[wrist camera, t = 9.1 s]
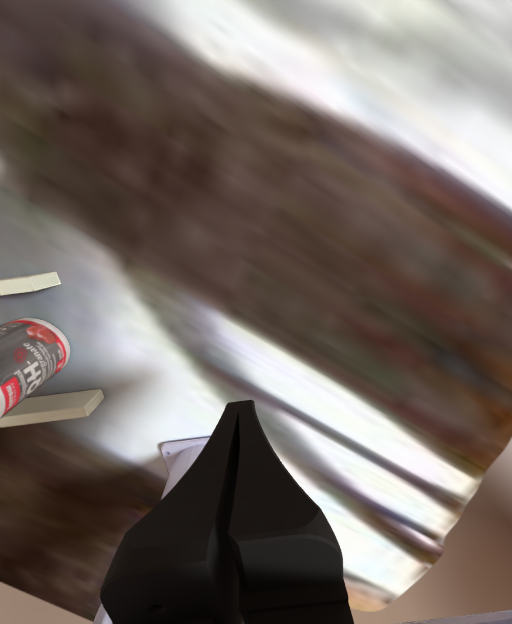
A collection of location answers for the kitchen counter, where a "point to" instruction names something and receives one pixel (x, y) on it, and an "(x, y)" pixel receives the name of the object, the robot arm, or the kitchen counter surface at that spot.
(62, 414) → the u-shaped bracket
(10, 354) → the pill bottle
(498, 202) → the kitchen counter surface
